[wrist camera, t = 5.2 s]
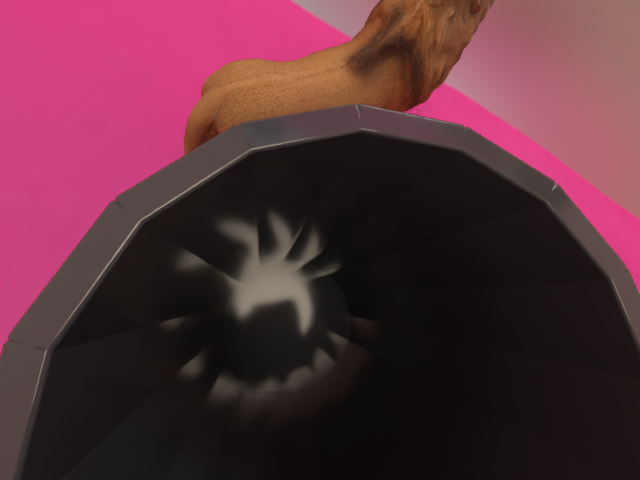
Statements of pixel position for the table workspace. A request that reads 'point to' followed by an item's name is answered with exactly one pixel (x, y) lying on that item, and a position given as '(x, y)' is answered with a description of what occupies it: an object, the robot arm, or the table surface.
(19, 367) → the pen pot
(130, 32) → the table surface
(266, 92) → the lion figurine
